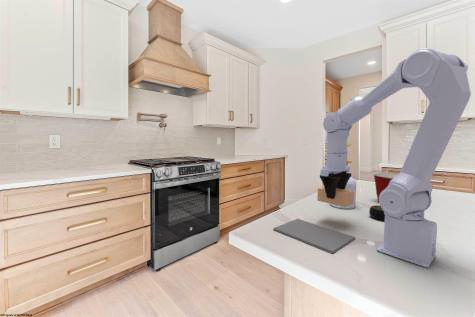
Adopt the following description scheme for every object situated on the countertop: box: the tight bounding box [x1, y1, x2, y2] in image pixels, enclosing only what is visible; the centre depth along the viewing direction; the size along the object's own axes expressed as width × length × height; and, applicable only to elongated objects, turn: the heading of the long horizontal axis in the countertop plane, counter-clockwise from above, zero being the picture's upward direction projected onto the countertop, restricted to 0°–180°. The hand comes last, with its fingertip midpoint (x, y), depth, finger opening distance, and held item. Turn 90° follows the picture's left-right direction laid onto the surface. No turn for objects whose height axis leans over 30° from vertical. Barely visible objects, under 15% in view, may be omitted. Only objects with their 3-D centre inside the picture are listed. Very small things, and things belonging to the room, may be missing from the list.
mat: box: [272, 218, 356, 255], centre depth 62 cm, size 18×12×1 cm, turn 40°
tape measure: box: [368, 204, 385, 221], centre depth 75 cm, size 7×7×4 cm
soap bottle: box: [330, 143, 357, 210], centre depth 88 cm, size 9×9×25 cm
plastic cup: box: [372, 172, 398, 203], centre depth 92 cm, size 11×11×12 cm
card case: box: [316, 186, 354, 207], centre depth 70 cm, size 5×9×4 cm, turn 39°
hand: (335, 196), depth 70 cm, fingers closed on card case, 5 cm apart
